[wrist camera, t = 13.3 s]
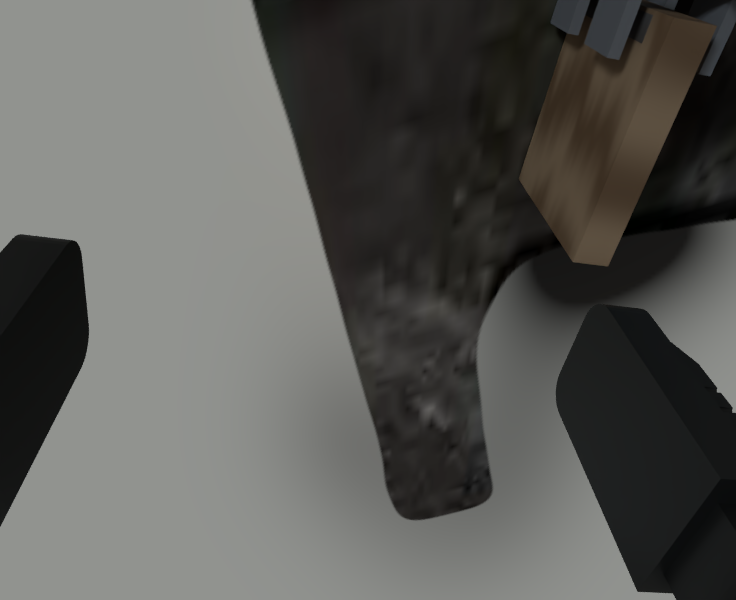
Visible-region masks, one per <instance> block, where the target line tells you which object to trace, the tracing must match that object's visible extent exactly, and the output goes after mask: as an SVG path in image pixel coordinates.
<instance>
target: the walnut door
mask: <svg viewBox="0 0 736 600" xmlns="http://www.w3.org/2000/svg"><path fill="white" fill-rule="evenodd" d="M598 2H599V0H590V2H589V5H588V8H587V11H586V14H585V17H584V20H583V23H582V26H581V29H580V32H579V35H573V34H568V33H567V34H566V37H565V40H564V43H563V46H562V49H561V52H560V55H559V58H558V61H557V65H556V68H555V71H554V74H553V77H552V80H551V83H550V86H549V89H548V92H547V95H546V98H545V101H544V104H543V107H542V110H541V113H540V116H539V119H538V122H537V125H536V128H535V131H534V134H533V137H532V140H531V143H530V146H529V150H528V153H527V156H526V159H525V162H524V165H523V168H522V171H521V174H520V177H519V180H520V182H521V183H522V185H523V186H524V188H525V190H526V191H527V193H528V194H529V196H530V197H531V199H532V200H533V202H534V203H535V205H536V206H537V208H538V209H539V211H540V212H541V214H542V216H543V217H544V219H545V220H546V222H547V223H548V225H549V226H550V228H551V229H552V231H553V232H554V234H555V235H556V237H557V239H558V240H559V242H560V243H561V245H562V246H563V248H564V249H565V251H566V252H567V254H568V255H569V257H570V258H571V260H572V261H573V262H578V263H586V264H593V265H601V266H608V265H609V263H610V261H611V259H612V257H613V254H614V252H615V250H616V248H617V245H618V243H619V241H620V239H621V237H622V235H623V232H624V230H625V228H626V226H627V224H628V221H629V219H630V217H631V215H632V212H633V210H634V208H635V206H636V204H637V201H638V199H639V197H640V195H641V193H642V190H643V188H644V186H645V184H646V182H647V179H648V177H649V175H650V173H651V171H652V168H653V166H654V164H655V162H656V160H657V157H658V155H659V153H660V151H661V149H662V146H663V144H664V142H665V140H666V138H667V135H668V133H669V131H670V129H671V127H672V124H673V122H674V120H675V118H676V116H677V113H678V111H679V109H680V107H681V105H682V102H683V100H684V98H685V96H686V94H687V91H688V89H689V87H690V85H691V82H692V80H693V78H694V76H695V74H696V71H697V69H698V67H699V65H700V63H701V60H702V58H703V56H704V54H705V52H706V49H707V47H708V45H709V43H710V41H711V38H712V36H713V34H714V32H715V30H716V27H717V26H716V25H713V24H710V23H707V22H705V21H702V20H699V19H696V18H694V17H691V16H688V15H685V14H682V13H680V12H677V11H674V10H671V9H669V8H666V7H663V6H660V5H657V4H655V3H652V2H649V1H646V0H642V1H641V4H640V7H639V9H638V12H637V15H636V17H635V20H634V22H633V25H632V28H631V30H630V33H629V36H628V38H627V41H626V43H625V46H624V49H623V51H622V54H621V56H620V59H619V60H617V59H611V58H606V57H605V56H603V55H602V54H600V53H598V52H597V51H595V50H594V49H592V48H590V47H589V46H587V45H585V44H584V42H585V39H586V37H587V34H588V31H589V28H590V25H591V22H592V19H593V16H594V13H595V11H596V8H597V5H598Z"/></svg>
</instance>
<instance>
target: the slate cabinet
mask: <svg viewBox="0 0 736 600" xmlns="http://www.w3.org/2000/svg"><path fill="white" fill-rule="evenodd" d="M641 1H642V0H599V2H598V5H597V8H596V11H595V13H594V16H593V19H592V22H591V25H590V28H589V31H588V34H587V37H586V39H585V42H584V44H585V45H587V46H589V47H590V48H592V49H594V50H595V51H597V52H598V53H600V54H602V55H603V56H605V57H606V58H611V59H617V60H619V59H620V56H621V54H622V51H623V49H624V46H625V43H626V41H627V38H628V36H629V33H630V30H631V28H632V25H633V22H634V20H635V17H636V15H637V12H638V9H639V7H640V4H641ZM646 1H649V2H652V3H655V4H657V5H660V6H663V7H666V8H669V9H671V10H674V9H675V7H676V4H677V2H678V0H646ZM589 2H590V0H558V1H557V4H556V7H555V10H554V13H553V17H552V20H551V24H553V25H555V26H556V27H558V28H559V29H561V30H563V31H564V32H566V33H568V34H573V35H579V32H580V29H581V26H582V23H583V20H584V17H585V14H586V11H587V8H588V5H589ZM688 16H691V17H694V18H696V19H699V20H702V21H705V22H707V23H710V24H713V25H716V26H717V27H716V30H715V32H714V34H713V36H712V38H711V41H710V43H709V45H708V47H707V49H706V52H705V54H704V56H703V58H702V60H701V63H700V65H699V67H698V69H697V71H696V73H697V74H700V75H706V76H711V74H712V72H713V70H714V68H715V65H716V63H717V61H718V59H719V57H720V55H721V53H722V50H723V48H724V46H725V44H726V42H727V40H728V38H729V35H730V33H731V31H732V29H733V27H734V25H735V23H736V0H694V1H693V4H692V6H691V8H690V11H689V13H688Z"/></svg>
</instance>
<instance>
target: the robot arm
mask: <svg viewBox="0 0 736 600" xmlns="http://www.w3.org/2000/svg"><path fill="white" fill-rule="evenodd" d="M88 338H89V323H88V314H87V303H86V294H85V284H84V273H83V263H82V255H81V250H80V247H79V245H78V243H77V242H75V241H73V240H65V239H56V238H47V237H39V236H30V235H21V234H20V235H17V236H15V237H14V238H13V239H12V240H11V241H10V242H9V243H8V245H7V246H6V247H5V248H4V249H3V250H2V251H1V252H0V526H1V524H2V522H3V520H4V518H5V516H6V514H7V512H8V511H9V509H10V507H11V505H12V503H13V501H14V499H15V497H16V495H17V493H18V491H19V489H20V487H21V485H22V483H23V481H24V479H25V477H26V475H27V473H28V471H29V469H30V467H31V465H32V463H33V461H34V459H35V457H36V455H37V454H38V451H39V450H40V448H41V446H42V444H43V442H44V440H45V438H46V436H47V434H48V432H49V430H50V428H51V426H52V424H53V422H54V420H55V418H56V416H57V414H58V412H59V411H60V409H61V407H62V405H63V403H64V401H65V399H66V397H67V395H68V393H69V391H70V389H71V387H72V385H73V383H74V381H75V379H76V377H77V375H78V373H79V371H80V369H81V367H82V365H83V362H84V359H85V356H86V352H87V346H88ZM556 403H557V408H558V411H559V414H560V416H561V418H562V421H563V423H564V425H565V427H566V430H567V432H568V434H569V437H570V439H571V441H572V443H573V446H574V448H575V450H576V452H577V455H578V457H579V459H580V462H581V464H582V466H583V469H584V471H585V473H586V475H587V478H588V479H589V482H590V484H591V486H592V489H593V491H594V493H595V496H596V498H597V500H598V503H599V505H600V507H601V509H602V512H603V514H604V516H605V519H606V521H607V523H608V525H609V528H610V530H611V532H612V534H613V537H614V539H615V541H616V543H617V546H618V548H619V551H620V553H621V555H622V557H623V560H624V562H625V564H626V566H627V569H628V571H629V573H630V576H631V578H632V580H633V582H634V585H635V587H636V589H637V591H638V592H657V593H673V594H674V596H675V598H676V600H736V413H732V407H731V405H730V404H729V403H728V401H727V400H726V399H725V398H724V396H723V395H722V394H721V393H717V387H716V386H715V385H714V383H713V382H712V381H711V379H710V378H709V377H708V376H707V374H706V373H705V372H704V370H703V369H702V368H701V367H700V365H699V364H698V363H696V362H695V361H694V360H693V359H692V358H690V357H689V356H688V355H687V354H685V353H684V352H683V351H681V350H680V349H679V348H678V347H676V346H675V345H674V344H673V343H671V342H670V341H669V339H668V338H667V337H666V335H665V334H664V333H663V331H662V330H661V329H660V327H659V326H658V325H657V323H656V322H655V321H654V319H653V318H652V317H651V316H650V314H649V313H648V312H647V311H645V310H643V309H638V308H630V307H621V306H613V305H605V304H597V305H595V306H593V307H592V308H591V309H590V310H589V312H588V313H587V315H586V317H585V319H584V321H583V323H582V326H581V328H580V330H579V332H578V334H577V337H576V339H575V341H574V343H573V346H572V348H571V350H570V352H569V354H568V356H567V359H566V361H565V363H564V365H563V367H562V370H561V372H560V374H559V377H558V381H557V387H556Z"/></svg>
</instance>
